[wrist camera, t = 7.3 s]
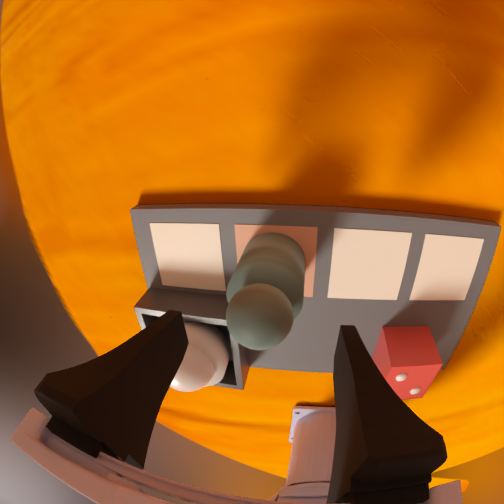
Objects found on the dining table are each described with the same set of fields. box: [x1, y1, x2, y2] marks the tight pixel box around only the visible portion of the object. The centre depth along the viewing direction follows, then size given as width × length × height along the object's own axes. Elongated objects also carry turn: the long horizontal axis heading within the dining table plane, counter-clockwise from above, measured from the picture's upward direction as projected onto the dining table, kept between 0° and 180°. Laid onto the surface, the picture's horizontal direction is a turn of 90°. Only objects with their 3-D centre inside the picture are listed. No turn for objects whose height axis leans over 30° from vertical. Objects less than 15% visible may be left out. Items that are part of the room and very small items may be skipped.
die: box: [372, 326, 443, 399], centre depth 18 cm, size 4×4×4 cm
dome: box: [170, 320, 231, 392], centre depth 19 cm, size 6×6×4 cm
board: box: [130, 203, 501, 390], centre depth 18 cm, size 14×26×4 cm, turn 93°
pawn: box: [226, 232, 306, 350], centre depth 15 cm, size 4×4×7 cm
